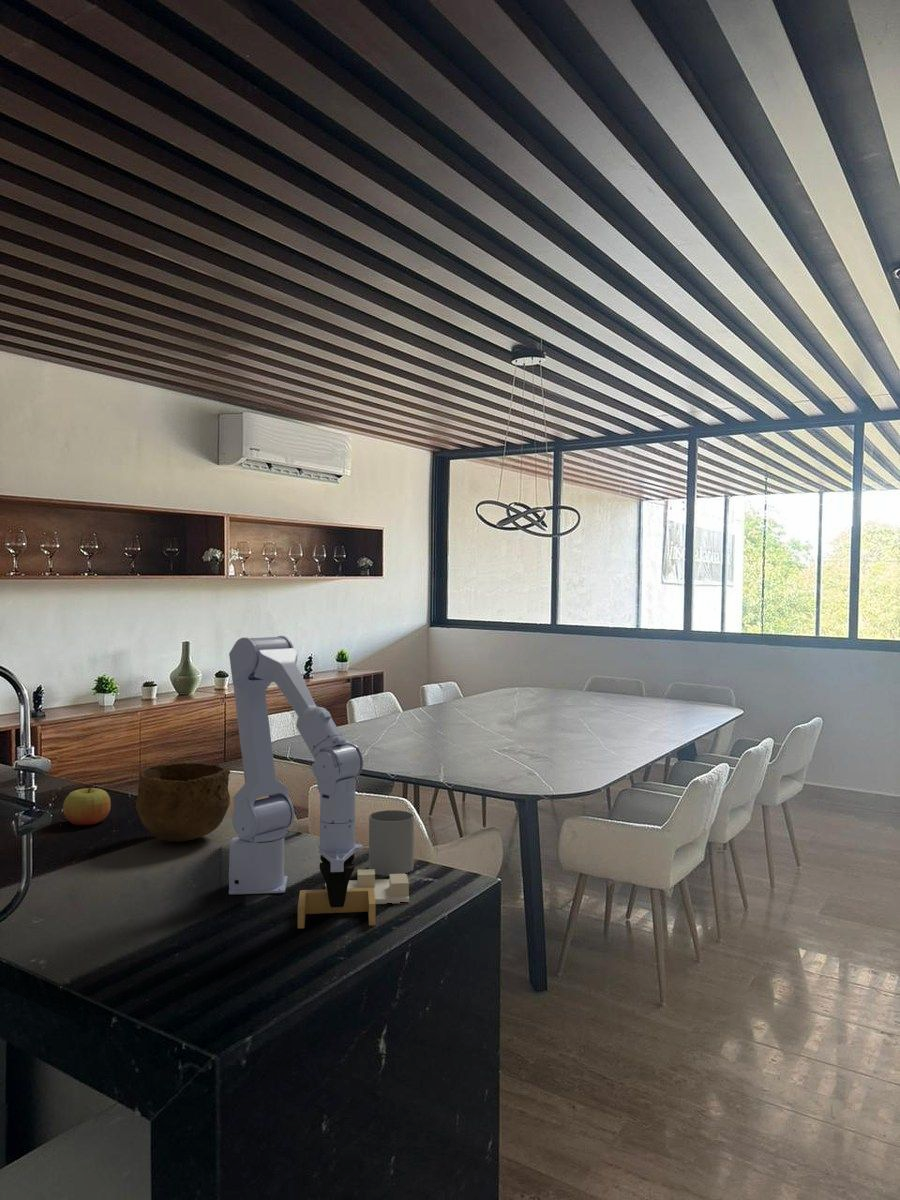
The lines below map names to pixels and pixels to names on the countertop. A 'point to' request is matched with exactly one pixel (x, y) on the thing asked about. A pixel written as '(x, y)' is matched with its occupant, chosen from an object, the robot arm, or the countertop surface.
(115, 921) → the countertop surface
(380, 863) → the cup
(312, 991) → the countertop surface
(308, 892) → the tan u-shaped clamp
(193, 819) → the bowl
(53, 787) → the countertop surface
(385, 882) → the display stand
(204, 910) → the countertop surface
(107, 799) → the apple
